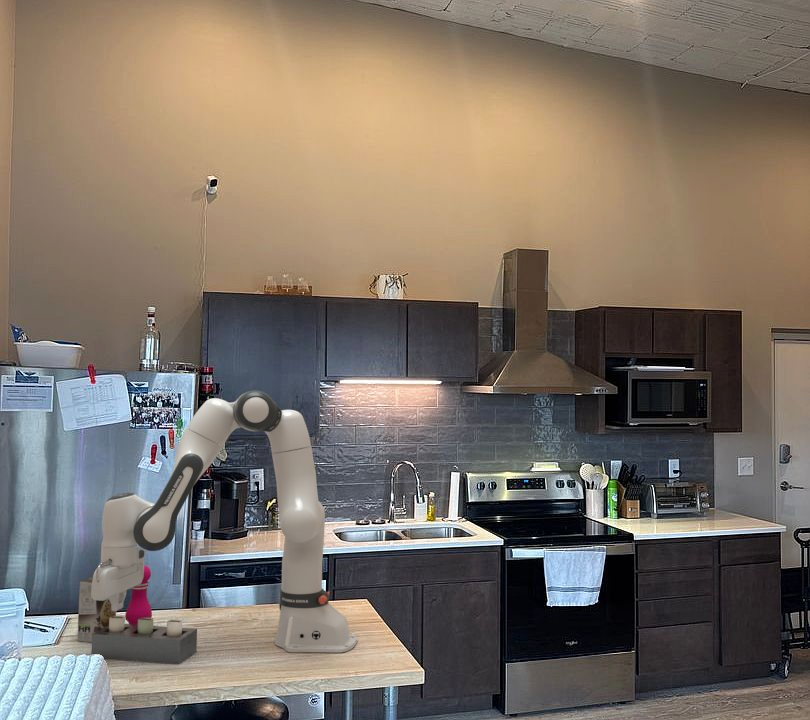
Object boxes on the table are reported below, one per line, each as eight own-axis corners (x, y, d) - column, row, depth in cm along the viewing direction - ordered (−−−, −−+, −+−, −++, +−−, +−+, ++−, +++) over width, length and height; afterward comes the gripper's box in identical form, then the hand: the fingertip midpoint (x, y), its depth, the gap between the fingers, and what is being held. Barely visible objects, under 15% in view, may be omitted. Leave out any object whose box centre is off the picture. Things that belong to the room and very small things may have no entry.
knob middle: (155, 635, 207) (156, 617, 207) (148, 639, 203) (148, 621, 203) (141, 634, 208) (142, 616, 208) (134, 638, 204) (135, 620, 204)
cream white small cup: (184, 637, 206) (184, 619, 206) (177, 641, 202) (178, 623, 202) (170, 636, 206) (171, 618, 206) (163, 641, 203) (164, 622, 203)
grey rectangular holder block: (196, 651, 208) (197, 628, 208) (179, 664, 198) (180, 640, 199) (112, 645, 212) (112, 623, 212) (91, 657, 202) (92, 633, 203)
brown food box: (97, 643, 214) (99, 582, 215) (76, 641, 216) (78, 581, 216) (116, 633, 223) (118, 575, 224) (95, 631, 225) (97, 573, 225)
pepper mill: (146, 634, 222) (148, 562, 223) (120, 634, 222) (123, 562, 223) (155, 627, 229) (157, 557, 230) (130, 626, 230) (132, 556, 231)
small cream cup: (127, 633, 208) (127, 615, 209) (119, 637, 205) (120, 619, 205) (113, 632, 209) (114, 614, 209) (105, 636, 205) (106, 618, 205)
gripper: (108, 564, 197) (106, 621, 196) (148, 549, 217) (147, 600, 216) (85, 563, 198) (83, 619, 197) (127, 548, 218) (125, 599, 218)
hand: (117, 609), depth 207 cm, fingers closed
